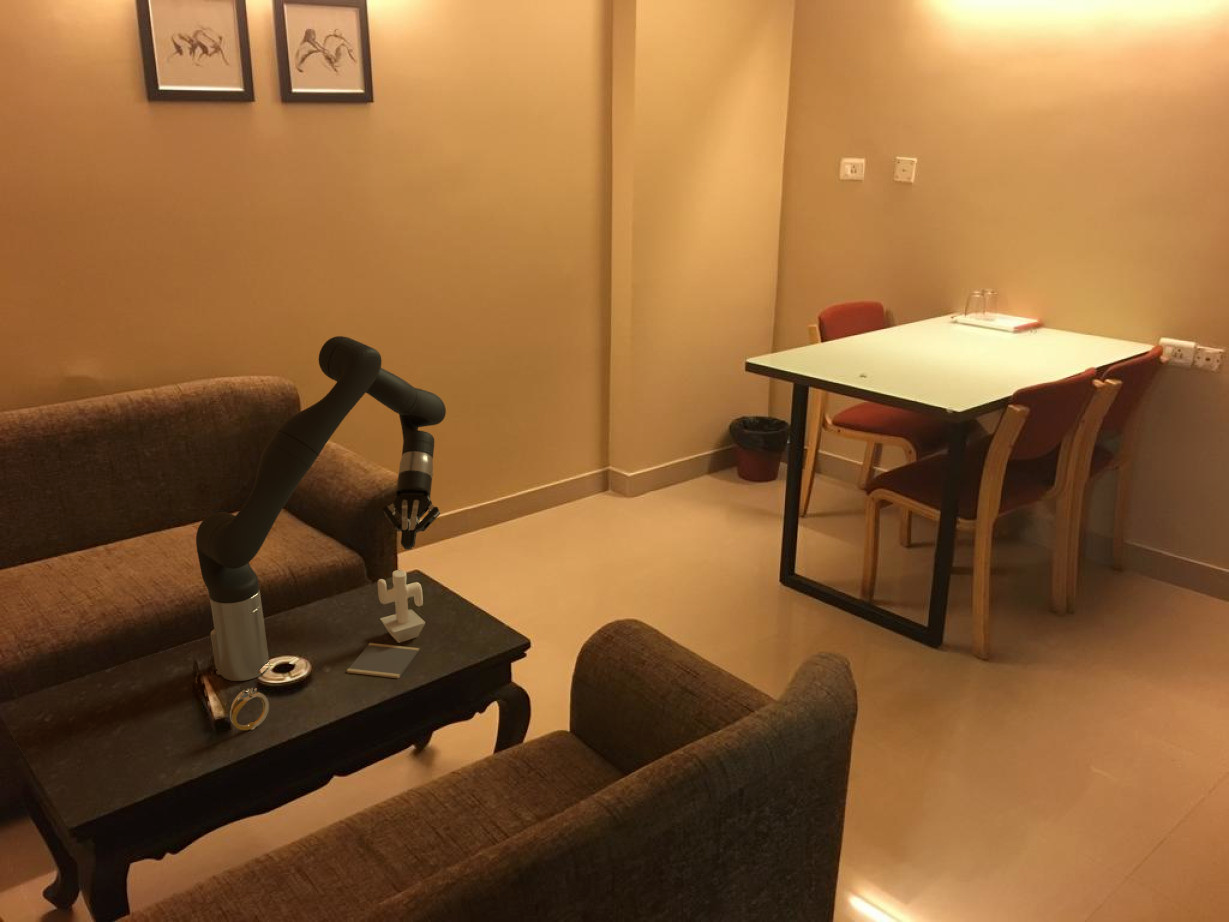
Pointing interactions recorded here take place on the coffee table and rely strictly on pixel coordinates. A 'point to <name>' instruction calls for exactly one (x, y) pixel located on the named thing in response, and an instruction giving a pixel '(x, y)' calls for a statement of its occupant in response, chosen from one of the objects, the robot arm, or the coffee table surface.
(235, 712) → the ring
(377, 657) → the felt mat
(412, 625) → the figurine
